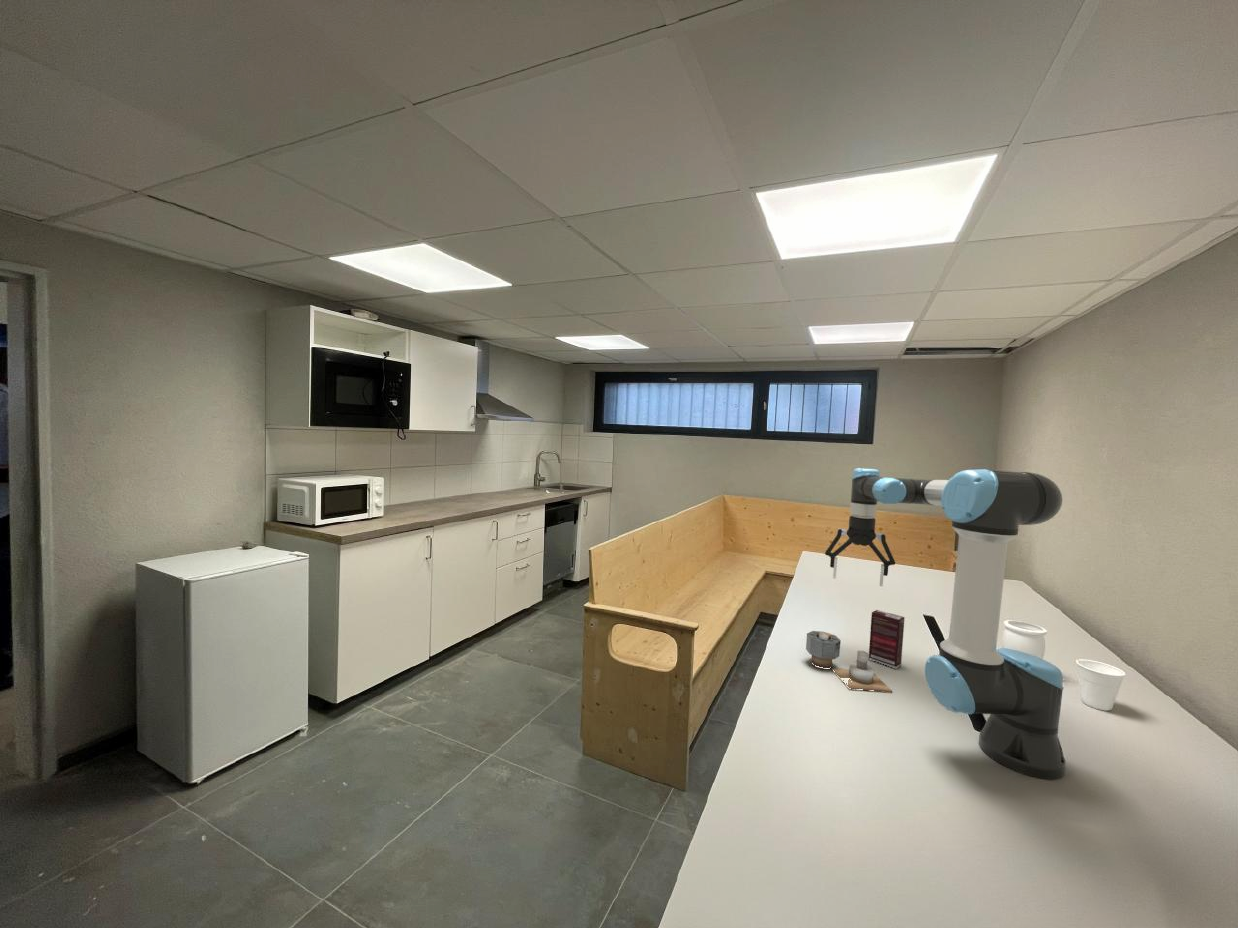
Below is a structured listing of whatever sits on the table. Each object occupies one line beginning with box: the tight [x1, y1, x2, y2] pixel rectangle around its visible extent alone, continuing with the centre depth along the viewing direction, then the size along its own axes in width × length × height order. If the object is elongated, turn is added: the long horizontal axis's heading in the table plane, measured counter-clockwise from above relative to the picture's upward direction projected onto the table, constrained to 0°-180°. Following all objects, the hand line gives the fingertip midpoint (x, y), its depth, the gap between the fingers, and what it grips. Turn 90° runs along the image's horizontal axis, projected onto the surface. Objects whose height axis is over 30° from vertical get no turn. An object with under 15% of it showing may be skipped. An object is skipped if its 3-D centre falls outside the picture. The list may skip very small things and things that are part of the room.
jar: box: [1001, 619, 1048, 660], centre depth 154 cm, size 11×10×15 cm
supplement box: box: [868, 609, 905, 670], centre depth 156 cm, size 9×5×16 cm, turn 43°
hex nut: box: [805, 630, 841, 660], centre depth 151 cm, size 9×9×5 cm
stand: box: [810, 631, 833, 668], centre depth 151 cm, size 6×6×10 cm
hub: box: [831, 650, 893, 693], centre depth 142 cm, size 12×12×8 cm
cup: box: [1075, 658, 1127, 712], centre depth 135 cm, size 10×10×11 cm
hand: (857, 581), depth 157 cm, fingers open, 13 cm apart
